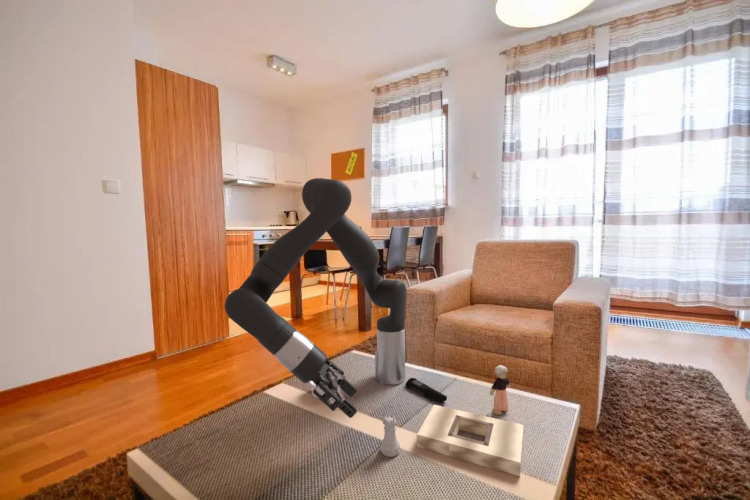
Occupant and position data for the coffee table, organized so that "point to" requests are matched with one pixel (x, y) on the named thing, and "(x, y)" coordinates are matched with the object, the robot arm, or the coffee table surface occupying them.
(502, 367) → the grandmother figurine
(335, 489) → the coffee table surface
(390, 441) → the rook chess piece
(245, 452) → the coffee table surface
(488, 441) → the socket board
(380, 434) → the coffee table surface
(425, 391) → the electric trimmer
